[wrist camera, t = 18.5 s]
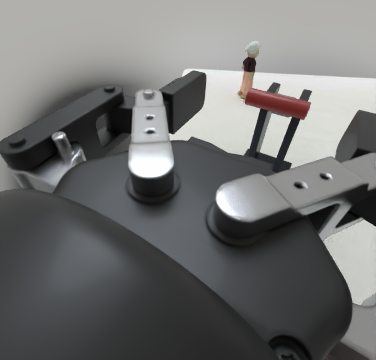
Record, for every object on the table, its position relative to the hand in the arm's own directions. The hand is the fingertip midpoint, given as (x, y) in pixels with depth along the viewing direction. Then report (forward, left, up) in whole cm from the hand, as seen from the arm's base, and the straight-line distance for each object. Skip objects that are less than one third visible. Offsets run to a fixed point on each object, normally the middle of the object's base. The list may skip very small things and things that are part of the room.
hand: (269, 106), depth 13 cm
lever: (-9, -10, -7) cm, 16 cm away
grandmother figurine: (-24, -44, -21) cm, 54 cm away
